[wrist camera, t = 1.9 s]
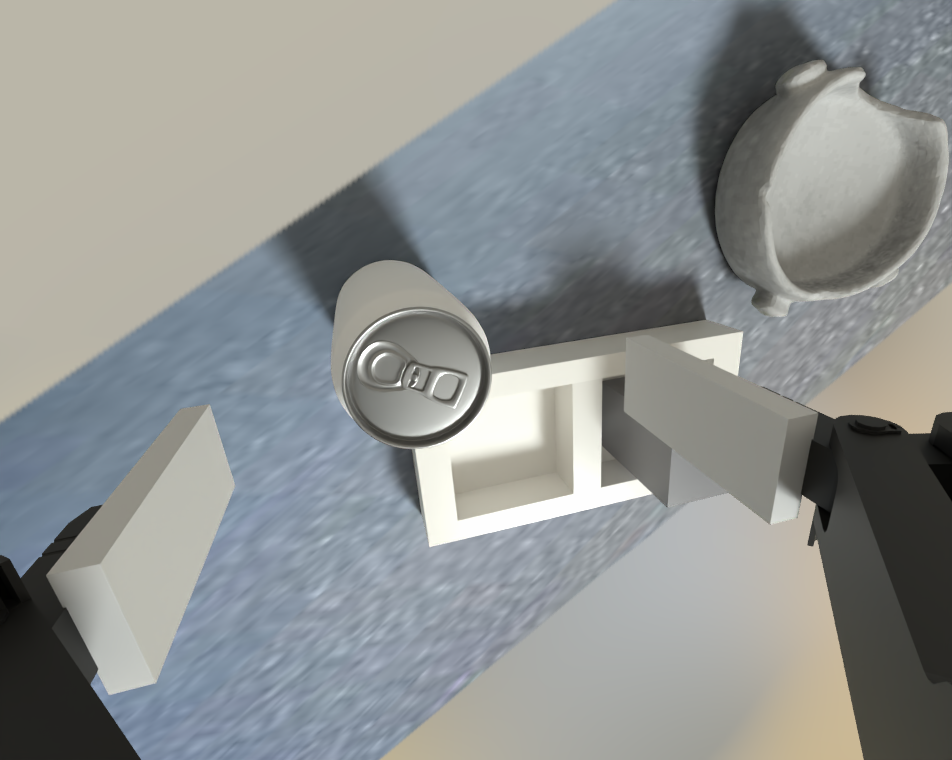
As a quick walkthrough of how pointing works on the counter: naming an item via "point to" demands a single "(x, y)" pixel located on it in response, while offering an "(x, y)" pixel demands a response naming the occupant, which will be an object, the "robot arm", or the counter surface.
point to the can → (407, 357)
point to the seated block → (650, 454)
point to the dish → (827, 189)
